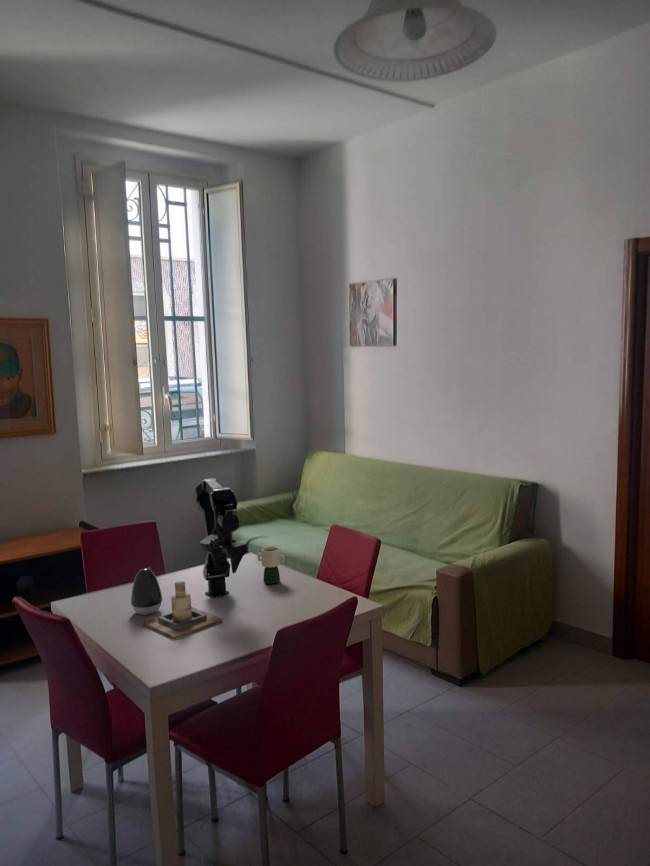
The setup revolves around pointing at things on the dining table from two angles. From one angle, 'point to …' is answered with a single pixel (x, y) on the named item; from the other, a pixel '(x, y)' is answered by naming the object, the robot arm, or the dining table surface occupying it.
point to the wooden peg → (181, 603)
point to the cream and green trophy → (271, 563)
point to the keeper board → (182, 624)
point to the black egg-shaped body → (146, 593)
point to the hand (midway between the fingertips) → (225, 570)
